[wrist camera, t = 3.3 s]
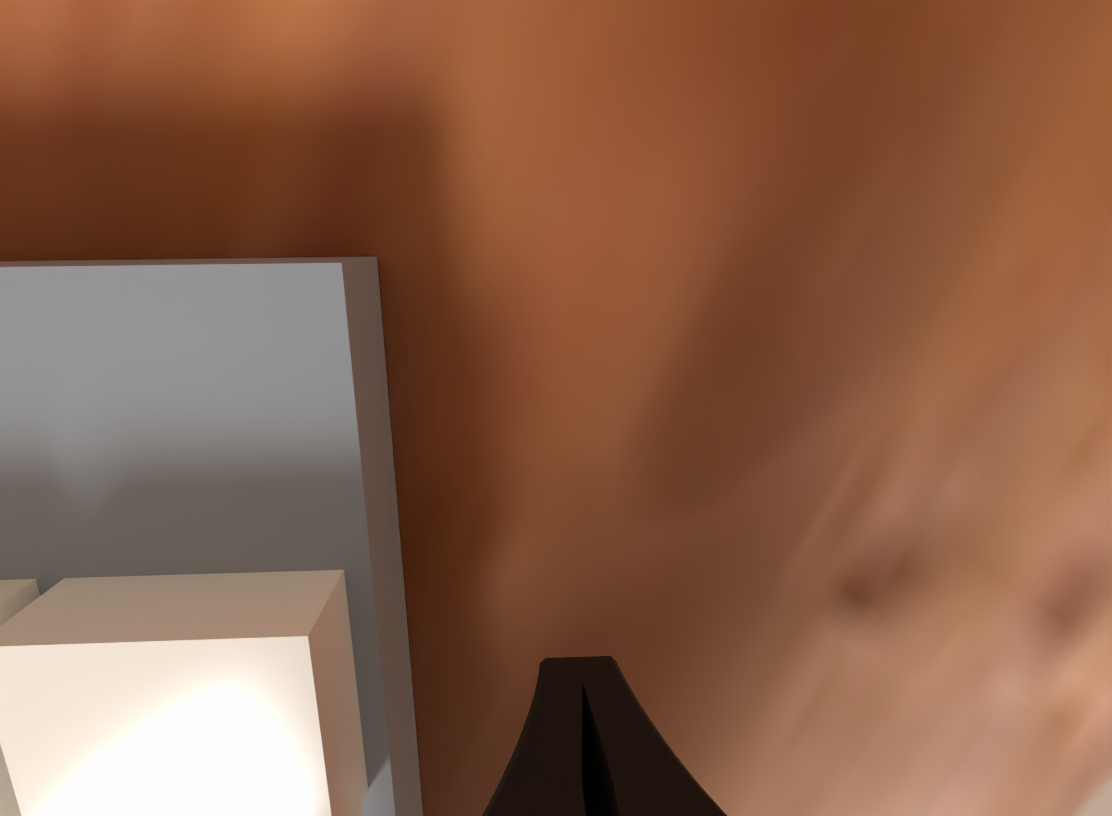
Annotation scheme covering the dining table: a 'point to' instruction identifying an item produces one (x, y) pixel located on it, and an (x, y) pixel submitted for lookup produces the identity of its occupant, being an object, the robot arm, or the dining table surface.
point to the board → (213, 446)
